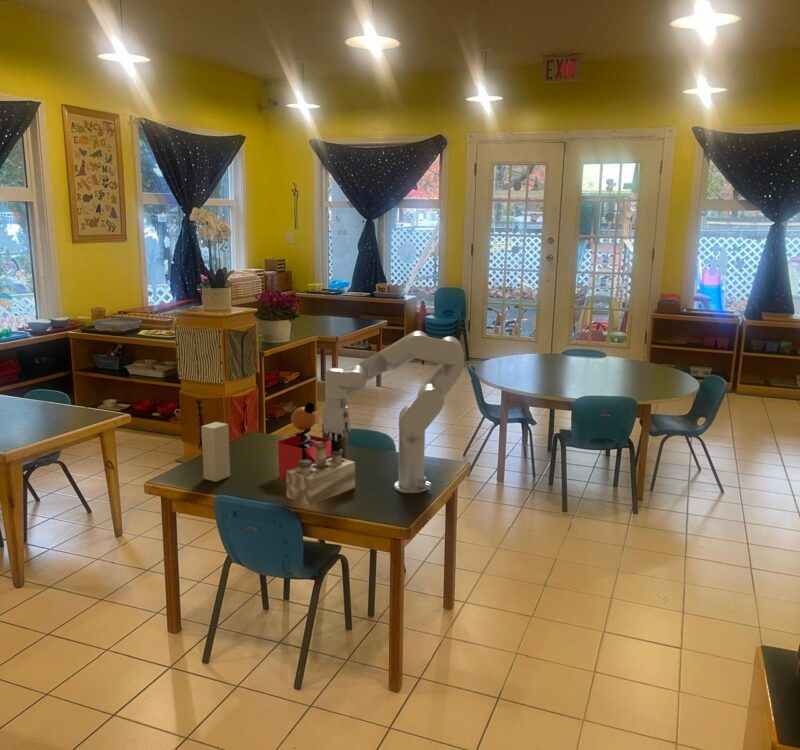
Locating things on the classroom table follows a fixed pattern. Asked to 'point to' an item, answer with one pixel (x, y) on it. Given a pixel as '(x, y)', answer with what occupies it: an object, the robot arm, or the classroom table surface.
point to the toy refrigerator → (215, 451)
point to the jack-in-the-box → (299, 441)
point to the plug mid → (320, 455)
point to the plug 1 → (305, 467)
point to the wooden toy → (342, 444)
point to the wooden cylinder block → (320, 481)
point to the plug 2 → (336, 456)
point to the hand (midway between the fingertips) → (335, 450)
